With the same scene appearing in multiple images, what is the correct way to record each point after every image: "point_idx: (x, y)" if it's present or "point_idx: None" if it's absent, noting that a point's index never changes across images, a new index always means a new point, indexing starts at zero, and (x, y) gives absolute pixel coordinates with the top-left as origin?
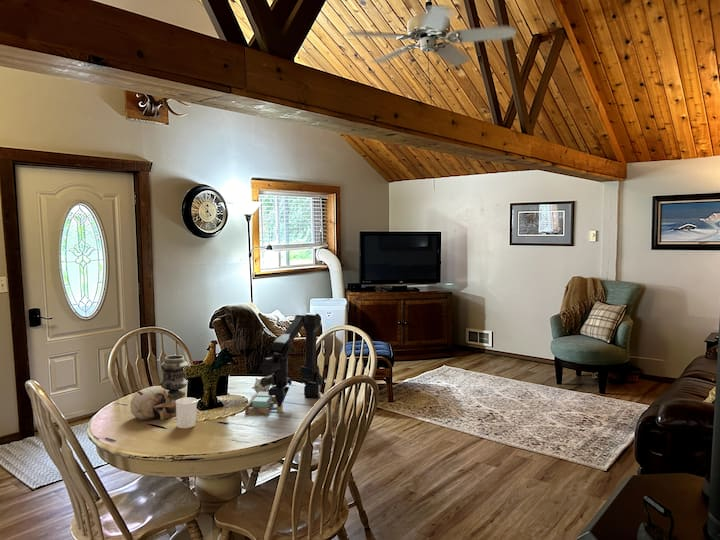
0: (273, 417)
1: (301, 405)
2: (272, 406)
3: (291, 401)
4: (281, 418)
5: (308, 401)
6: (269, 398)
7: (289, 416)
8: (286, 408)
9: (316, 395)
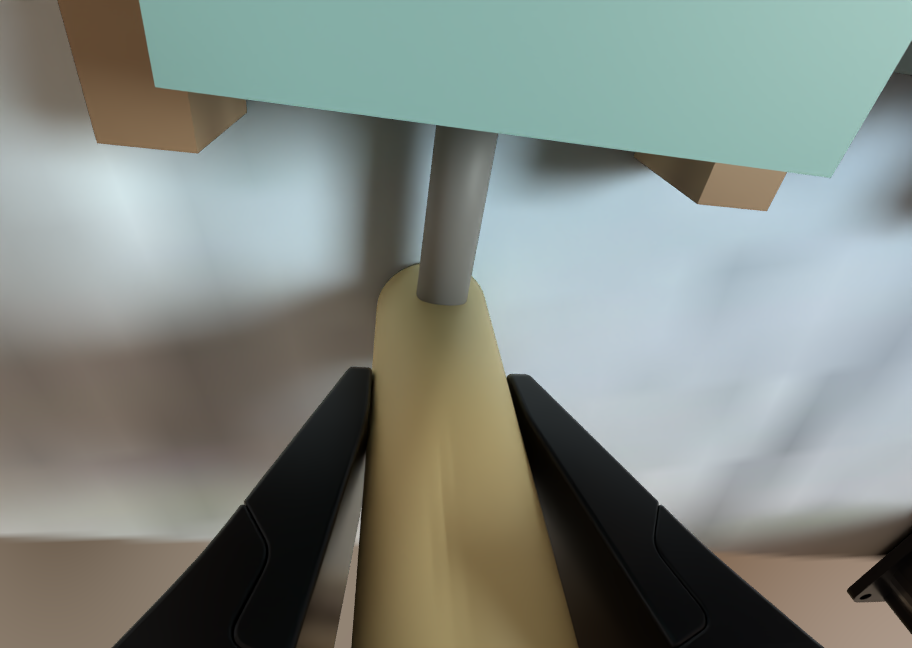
0: (59, 245)
1: (671, 510)
2: (655, 161)
3: (891, 399)
4: (74, 379)
5: (790, 542)
6: (732, 160)
7: (217, 459)
8: (586, 381)
9: (899, 599)
